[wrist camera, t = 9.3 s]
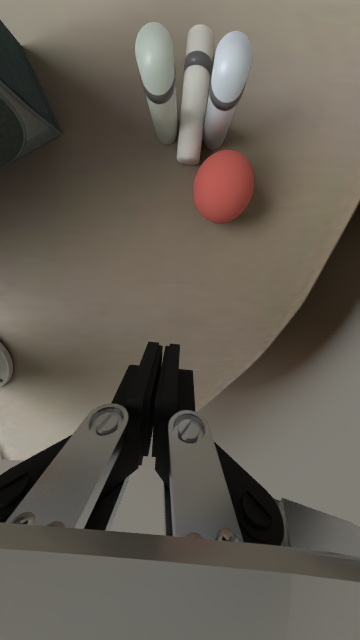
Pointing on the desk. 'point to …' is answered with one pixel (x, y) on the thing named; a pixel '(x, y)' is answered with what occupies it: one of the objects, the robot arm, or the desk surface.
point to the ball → (223, 186)
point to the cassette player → (21, 104)
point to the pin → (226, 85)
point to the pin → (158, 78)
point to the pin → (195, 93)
